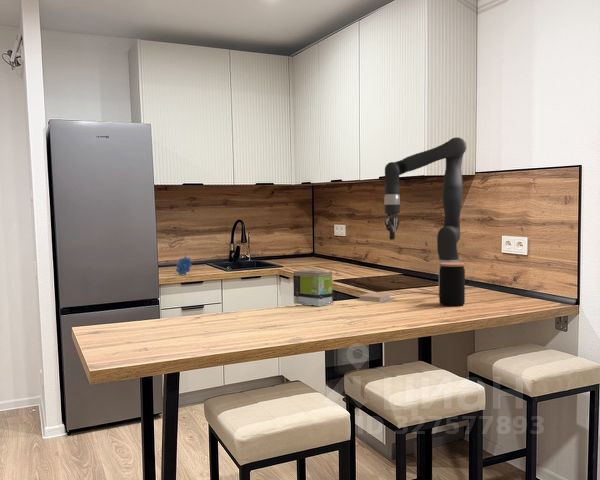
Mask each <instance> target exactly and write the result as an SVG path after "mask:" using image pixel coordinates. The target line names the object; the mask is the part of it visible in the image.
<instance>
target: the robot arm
mask: <svg viewBox="0 0 600 480" xmlns="http://www.w3.org/2000/svg"><path fill="white" fill-rule="evenodd" d="M466 151H467V142H466V141H465V140H464V139H463V138H461V137H453V138H451V139H449V140H448V141H446V142H444V143H443V144H440V145H438V146H436V147H433V148H431V149H427V150H424V151H421V152H417V153H414V154H411V155H409V156H407V157H404V158H403V159H399V160H396V161H390V162H388V163H387V164H386V165H385V166H384V179H385V180H384V181H385V183H384V184H385V185H384V202H383V203H384V206H383V208H384V209H383V210H384V211H383V212H384V214H387V215H386V220H383V221H384V224H385V228H386V230H387V231H388V233H389V240H395V239H396V231H397V230H398V229H399V228H398V227H399V226H400V220H401V219H400V220H399V219H398V214H400V213H401V197H400V193H401V192H400V176H401V175H404V174H405V173H406V174H407V173H408V172H412V171H415V170H418V169H421V168H423V167H426V166H429V165H430V164H433V163H435V162H437V161H441V160H445V170H444V171H445V172H444V176H443V183H442V184H443V185H442V193H441V194H442V195H441V198H442V200H441V201H442V206H443V212H444V221H443V227H441V228H440V229H439V230H438V231H437V236H436V240H437V241H436V243H437V244H436V245H437V255H438V271H439V270H440V268H441V266H440V263H445V262H456V263H460V262H459V253H458V249H457V248H458V246H457V244H458V242H459V240H460V238H461V225H460V223H461V219H460V217H461V209H462V201H463V189H464V188H463V184H464V183H463V175H462V174H463V173H462V165H463V164H462V163H463V157H464V154H465V153H466Z"/></svg>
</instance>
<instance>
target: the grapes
mask: <svg viewBox="0 0 600 480" xmlns="http://www.w3.org/2000/svg"><path fill="white" fill-rule="evenodd" d="M192 266H193V265H192V263H191V259H190V258H188V257H187V256H184V257H183V258H182V257H181V258H180V259H178V262H176V266H175V267H176V269H175V270H176V272H177V274H178V275H179V274H182V275H183V274H185V275H187V273H189V272H190V271H191V267H192Z"/></svg>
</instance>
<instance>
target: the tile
mask: <svg viewBox="0 0 600 480" xmlns="http://www.w3.org/2000/svg"><path fill="white" fill-rule="evenodd" d="M390 295H391V294H389V293H379V292H378V293H377V292H367V293H363V294H361V295H359V299H360V300H365V301H364V302H371V301H376V302H375V303H382V302H381V301H384V300H388V299H390V298H391V296H390ZM360 300H359V301H360Z"/></svg>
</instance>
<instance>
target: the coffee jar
mask: <svg viewBox="0 0 600 480" xmlns="http://www.w3.org/2000/svg"><path fill="white" fill-rule="evenodd" d="M440 266H441V268H440V270H439V269H438V295H439V301H438V302H439V304H440V305H441V306H444V307H452V308H453V307H454V308H456V307H463V306H464V305H465V302H466V301H465V300H466V299H465V298H466V297H465V296H466V294H465V293H466V287H465V286H466V283H465V282H466V280H465V279H466V272H465V271H466V269H465V266H466V264H465V263H464V262H458V263H456V262H445V263H440Z"/></svg>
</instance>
